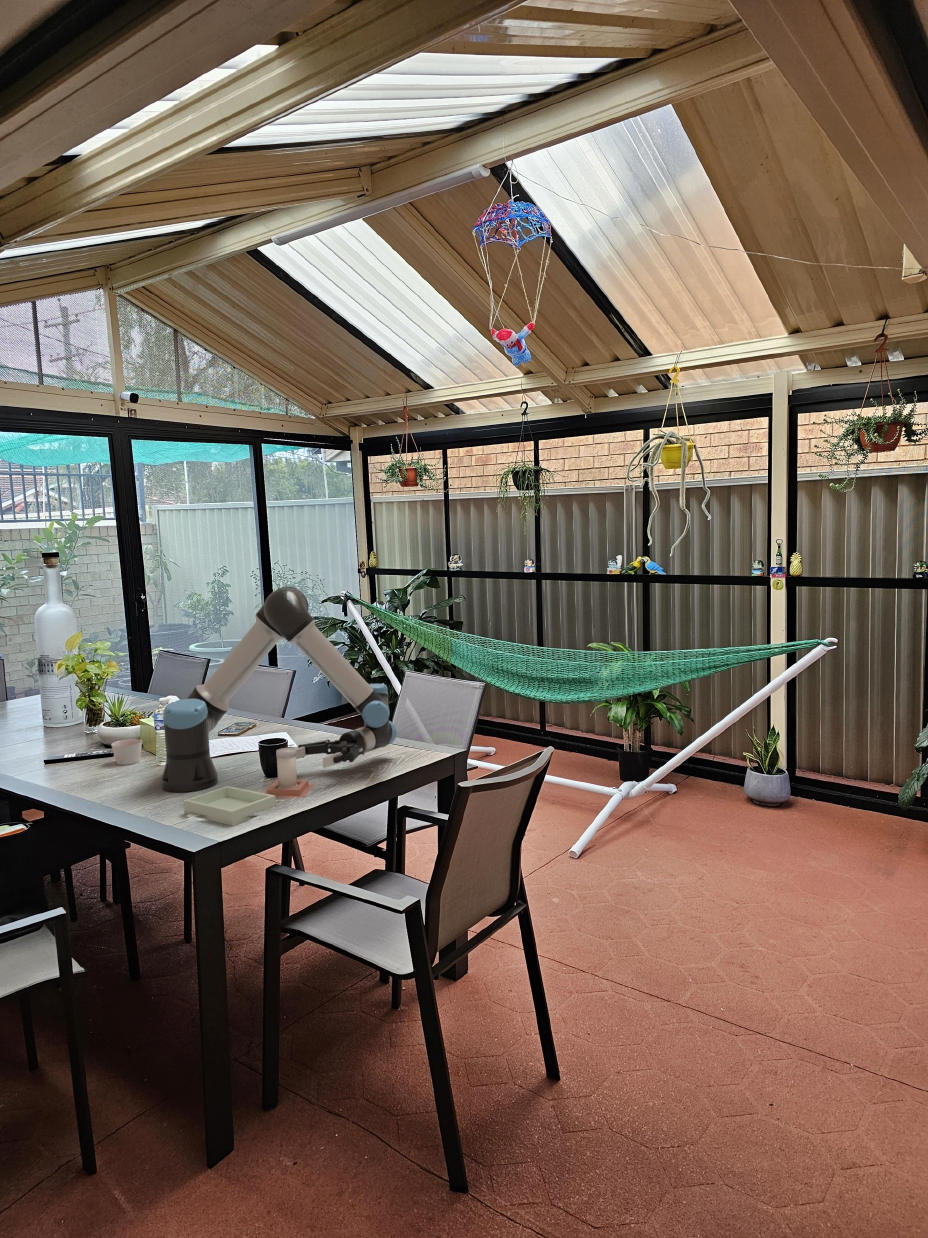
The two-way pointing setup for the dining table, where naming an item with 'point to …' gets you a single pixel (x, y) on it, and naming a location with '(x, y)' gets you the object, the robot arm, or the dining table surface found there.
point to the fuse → (286, 768)
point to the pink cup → (127, 751)
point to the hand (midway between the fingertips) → (305, 760)
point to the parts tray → (229, 805)
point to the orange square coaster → (290, 790)
